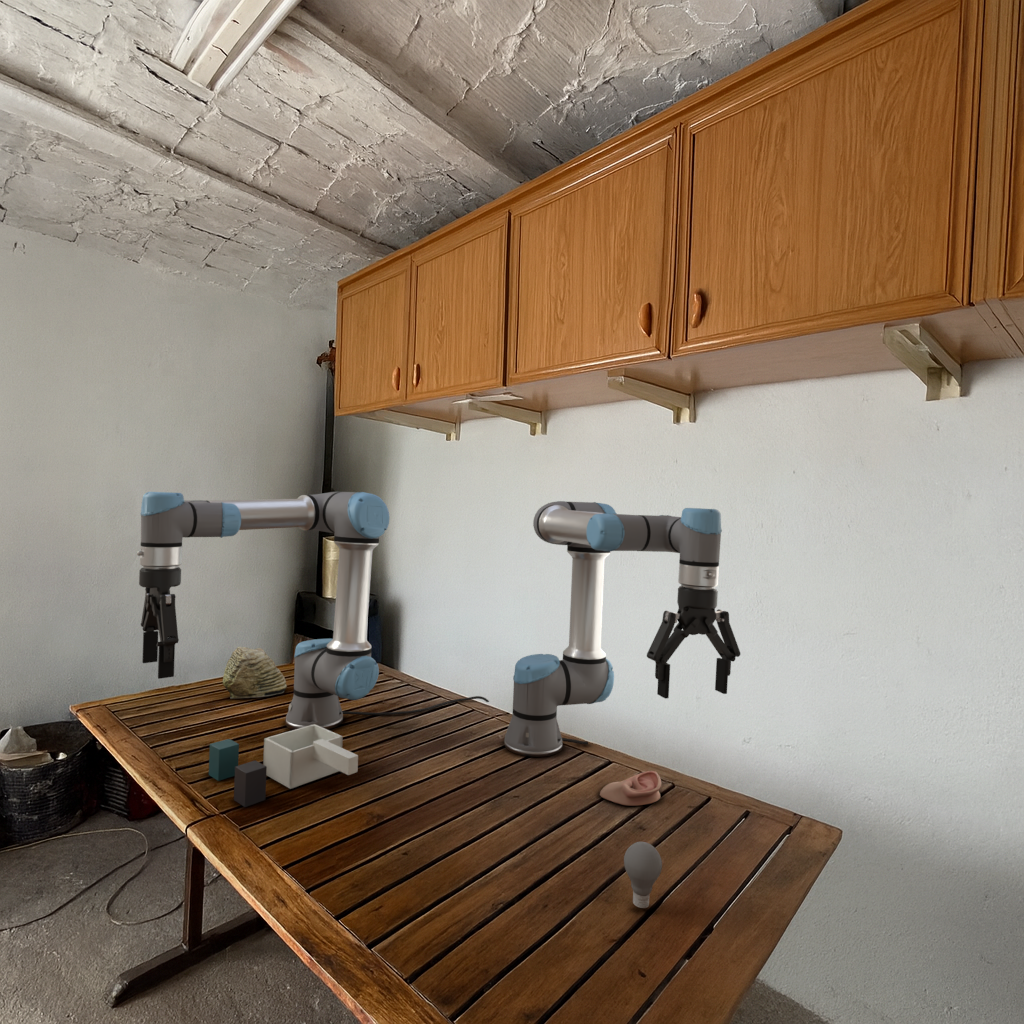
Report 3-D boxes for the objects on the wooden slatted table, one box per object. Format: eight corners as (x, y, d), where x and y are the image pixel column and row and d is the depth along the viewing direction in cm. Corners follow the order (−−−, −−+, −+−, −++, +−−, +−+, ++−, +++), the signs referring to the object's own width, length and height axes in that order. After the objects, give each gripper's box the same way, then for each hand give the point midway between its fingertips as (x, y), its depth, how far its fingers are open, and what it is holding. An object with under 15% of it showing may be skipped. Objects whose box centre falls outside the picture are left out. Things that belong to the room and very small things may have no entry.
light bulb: (617, 894, 104) (620, 834, 104) (653, 893, 105) (656, 834, 105) (627, 918, 98) (630, 854, 98) (664, 917, 99) (668, 854, 99)
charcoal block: (254, 792, 134) (255, 760, 134) (265, 799, 131) (266, 766, 131) (233, 800, 131) (234, 766, 131) (244, 807, 128) (246, 773, 128)
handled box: (313, 756, 154) (314, 720, 154) (376, 787, 139) (378, 748, 139) (262, 773, 144) (264, 734, 143) (325, 809, 129) (327, 766, 129)
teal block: (228, 768, 145) (229, 738, 145) (238, 774, 142) (239, 743, 142) (208, 774, 142) (209, 743, 142) (218, 781, 139) (219, 749, 139)
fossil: (218, 695, 195) (220, 647, 195) (278, 685, 208) (279, 640, 207) (228, 703, 189) (230, 653, 188) (289, 692, 201) (290, 645, 201)
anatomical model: (599, 783, 136) (602, 762, 148) (598, 802, 136) (601, 779, 148) (662, 792, 134) (661, 769, 145) (661, 810, 134) (660, 787, 145)
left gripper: (127, 561, 137) (124, 658, 137) (154, 574, 118) (151, 687, 119) (165, 560, 142) (162, 654, 142) (197, 573, 123) (194, 681, 124)
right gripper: (653, 589, 116) (648, 704, 117) (762, 589, 125) (756, 695, 125) (632, 584, 123) (627, 692, 124) (736, 583, 132) (731, 684, 132)
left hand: (157, 669), depth 131 cm, fingers open, 13 cm apart
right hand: (692, 694), depth 125 cm, fingers open, 13 cm apart
